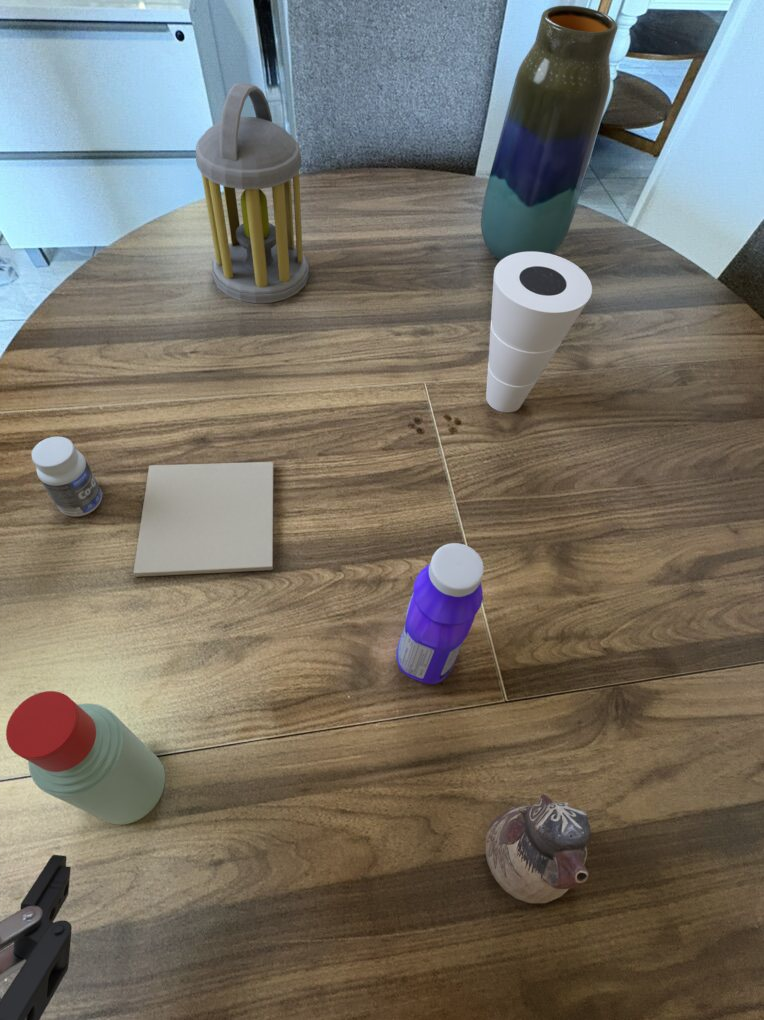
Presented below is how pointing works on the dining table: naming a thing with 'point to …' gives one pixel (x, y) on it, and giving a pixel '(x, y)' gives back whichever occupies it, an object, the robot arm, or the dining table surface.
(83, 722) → the cap
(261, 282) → the lantern
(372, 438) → the dining table surface
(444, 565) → the bottle
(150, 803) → the water bottle
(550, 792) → the dining table surface
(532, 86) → the vase
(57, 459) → the pill bottle
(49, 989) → the robot arm
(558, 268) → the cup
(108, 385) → the dining table surface
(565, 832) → the figurine
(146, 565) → the coaster
